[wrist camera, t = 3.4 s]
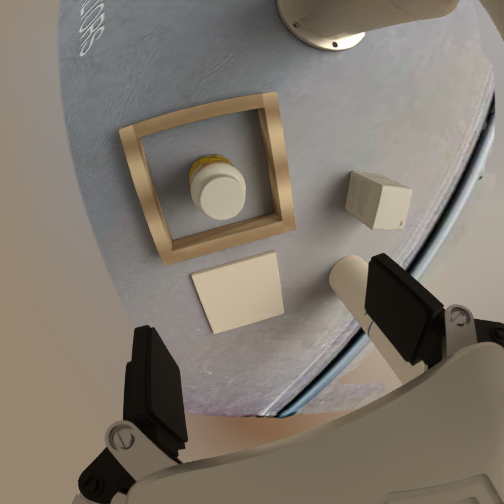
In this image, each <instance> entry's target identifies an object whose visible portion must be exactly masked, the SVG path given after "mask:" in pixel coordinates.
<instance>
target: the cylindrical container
mask: <svg viewBox="0 0 504 504" xmlns="http://www.w3.org/2000/svg"><path fill="white" fill-rule="evenodd" d="M367 276H368V264H367V263H366V262H365V261H364V260H363V259H362V258H360V257H359V256H356V255H350V256H346V257H344V258H342V259H341V260H340V261H338V262H337V263H336V264H335V265H334V267H333V268H332V270H331V272H330V275H329V284H330V286H331V288H332V289H333V290H334V292H335V293H336V294H337V295H338V297H339V298H340V299H341V301H342V302H343V303H344V304H345V306H346V307H347V308H348V310H349V311H350V312H351V314H352V315H353V316H354V318H355V319H356V320H357V322H358V323H359V324H360V326H361V327H362V328H363V330H364V331H365V332H366V334H367V335H368V336H369V338H370V339H371V341H372V342H373V343H374V345H375V346H376V347H377V349H378V350H379V351H380V353H381V354H382V356H383V357H384V358H385V360H386V361H387V363H388V364H389V365H390V367H391V368H392V370H393V371H394V372H395V374H396V375H397V376H398V378H399V380H400V381H401V382H402V384H403V385H404V384H406V383H408V382H409V381H411V380H413V379H414V378H416V377H417V376H419V375H421V374H422V373H424V362H423V361H422V360H421V361H420V362H419V363H417V364H416V365H414V366H412V365H411V364H410V363H409V362H406V361H405V360H404V359H403V358H402V356H401V355H400V354H399V353H398V351H397V350H396V349H395V347H394V346H393V345H392V344H391V342H390V341H389V340H388V339H387V337H386V336H385V335H384V334H383V332H382V331H381V330H380V329H379V327H378V326H377V325H376V324H375V323H374V321H373V320H372V319H371V318H370V316H369V315H368V314H367V313H366V311H365V307H364V305H365V296H366V287H367Z"/></svg>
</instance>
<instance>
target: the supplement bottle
mask: <svg viewBox="0 0 504 504" xmlns="http://www.w3.org/2000/svg"><path fill="white" fill-rule="evenodd" d="M189 183H190V191H191V197H192V200H193V202H194V204H195V205H196V207H197V208H198V209H199V210H201V211H202V212H203V213H205V214H207V215H208V216H209V217H211V218H213V219H216V220H226V219H230V218H232V217H234V216H236V215H237V214H238V213H239V212H240V211H241V209H242V208H243V206H244V203H245V192H246V185H245V181H244V178H243V176H242V174H241V173H240V172H239V171H238V170H237V169H236V168H235V167H234V166H233V165H232V164H231V163H230V161H229V160H228V159H226V158H225V157H223V156H221V155H218V154H208V155H204V156H202V157H200V158H198V159H197V160H196V161H195V162H194V163H193V165H192V166H191V169H190V172H189Z"/></svg>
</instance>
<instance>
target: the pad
mask: <svg viewBox="0 0 504 504" xmlns="http://www.w3.org/2000/svg"><path fill="white" fill-rule="evenodd" d="M191 276H192V279H193V281H194V284H195V287H196V289H197V292H198V295H199V297H200V300H201V302H202V305H203V308H204V310H205V313H206V315H207V318H208V320H209V323H210V325H211V328H212V330H213V332H214V334H216V333H220V332H223V331H227V330H231V329H234V328H238V327H241V326H245V325H248V324H251V323H255V322H258V321H261V320H265V319H268V318H271V317H274V316H277V315H281V314H284V307H283V300H282V293H281V286H280V279H279V272H278V265H277V259H276V252H275V251H274V250H273V251H270V252H266V253H263V254H259V255H256V256H252V257H249V258H245V259H241V260H238V261H234V262H231V263H227V264H224V265H220V266H217V267H213V268H209V269H206V270H202V271H199V272H195V273H192V274H191Z"/></svg>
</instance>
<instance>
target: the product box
mask: <svg viewBox="0 0 504 504" xmlns="http://www.w3.org/2000/svg"><path fill="white" fill-rule="evenodd" d="M412 192H413V189H411V188H409V187H406V186H404V185H402V184H400V183H398V182H396V181H394V180H391V179H389V178H387V177H385V176H382V175H374V174H367V173H361V172H355V171H352V172H351V175H350V182H349V188H348V194H347V199H346V204H345V210H346V211H347V212H349V213H350V214H352V215H353V216H354V217H356V218H357V219H358V220H360V221H361V222H362V223H364V224H365V225H366V226H368V227H369V228H370V229H372V230H402V229H403V228H404V224H405V220H406V216H407V213H408V209H409V205H410V201H411V197H412Z"/></svg>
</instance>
